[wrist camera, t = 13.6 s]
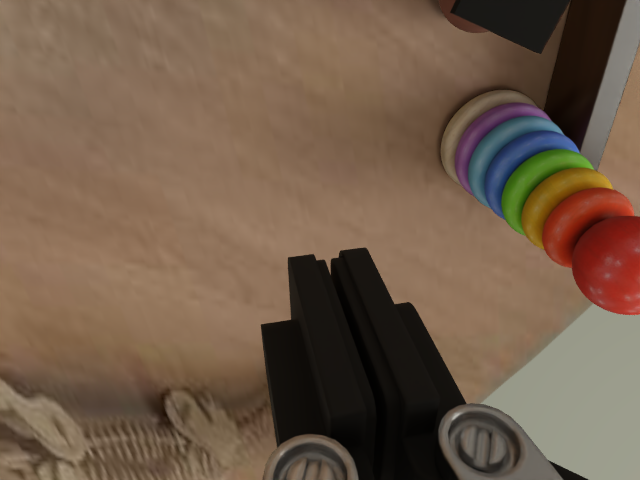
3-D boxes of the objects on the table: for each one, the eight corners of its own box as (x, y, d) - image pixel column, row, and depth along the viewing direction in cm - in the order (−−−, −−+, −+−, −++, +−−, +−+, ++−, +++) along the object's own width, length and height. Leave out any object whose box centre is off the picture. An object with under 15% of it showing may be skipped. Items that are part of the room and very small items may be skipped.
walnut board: (520, 203, 43) (554, 234, 39) (618, -191, 28) (688, -206, 24) (541, 200, 43) (577, 231, 39) (648, -191, 29) (723, -206, 25)
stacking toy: (465, 73, 35) (667, 202, 20) (552, 101, 38) (788, 234, 23) (420, 172, 39) (561, 343, 24) (502, 191, 42) (676, 356, 27)
